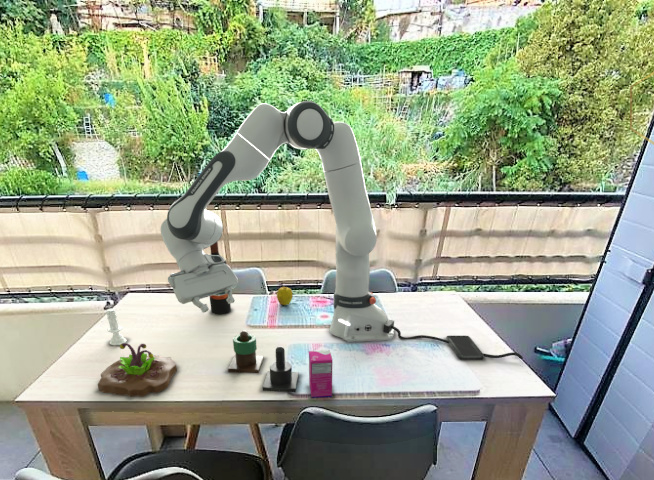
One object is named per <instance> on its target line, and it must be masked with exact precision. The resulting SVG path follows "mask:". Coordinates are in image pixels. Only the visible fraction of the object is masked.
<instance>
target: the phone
mask: <svg viewBox="0 0 654 480" xmlns="http://www.w3.org/2000/svg"><path fill="white" fill-rule="evenodd" d="M445 340H448V341H449V344H448V345H449V347H450V348H451V350H452V351H453V353H454V354H455V356H456V357H457V358H458V359H459V360H483V359H484V358H485V357H484V354H485V353H484V352H482V350H481V349H480V348H479V347H478V346H477V344H476V343H475V342H474V341H473V339H472V338H471V337H470V336H469V335H446V337H445ZM450 341H451V342H450ZM455 343H456V344H455ZM457 344H458V345H457ZM459 345H460V346H459ZM462 346H463V347H462ZM464 347H465V348H464ZM467 348H468V349H467ZM470 349H471V350H470ZM473 350H474V351H473ZM476 351H477V352H476ZM483 353H484V354H483Z"/></svg>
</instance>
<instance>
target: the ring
mask: <svg viewBox="0 0 654 480" xmlns="http://www.w3.org/2000/svg"><path fill="white" fill-rule="evenodd" d="M248 338H249V341H247V342H240V333H239V334H237V335H235V336H233V338H232V344H233V345H232V346H233V351H234V354H235V353H237V354H242V355H246V354H251V353H253V352H255V351H256V352H257V349H258V347H257V346H258V345H257V338H256V336H255V335H254V334H251V333H248Z"/></svg>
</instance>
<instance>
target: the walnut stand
mask: <svg viewBox="0 0 654 480" xmlns="http://www.w3.org/2000/svg"><path fill="white" fill-rule="evenodd" d="M239 334H240V342H247V341H249V338H248V334H249V332H248V331H247V330H241V331H240V332H239ZM264 360H265V356H264V355H259V354H258V355H257V350H256V351H255V352H253V353H251V354H246V355H242V354H237V353H235V352H234V356H233V358H232V360H231V362H230V364H229V365H228V368H227V372H228V373H237V374H238V373H239V374H259V373H260V371H261V368H262V365H263V363H264Z"/></svg>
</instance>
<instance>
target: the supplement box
mask: <svg viewBox="0 0 654 480" xmlns="http://www.w3.org/2000/svg"><path fill="white" fill-rule="evenodd" d="M332 357H333V356H332V353H331V350H330V349H323V350H322V349H321V350H308V375H309V376H308V385H309V391H310V397H311V399H322V398H323V399H324V398H333V360H334V359H333V358H332Z"/></svg>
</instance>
